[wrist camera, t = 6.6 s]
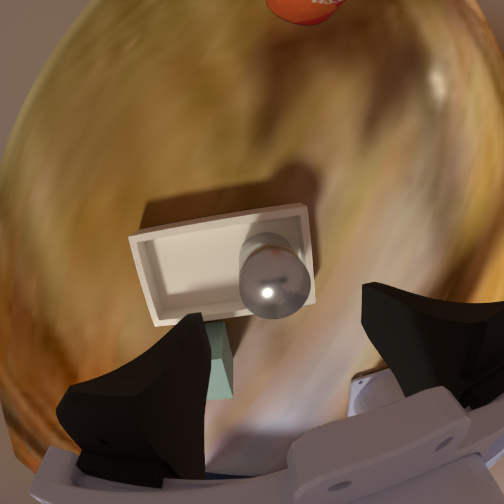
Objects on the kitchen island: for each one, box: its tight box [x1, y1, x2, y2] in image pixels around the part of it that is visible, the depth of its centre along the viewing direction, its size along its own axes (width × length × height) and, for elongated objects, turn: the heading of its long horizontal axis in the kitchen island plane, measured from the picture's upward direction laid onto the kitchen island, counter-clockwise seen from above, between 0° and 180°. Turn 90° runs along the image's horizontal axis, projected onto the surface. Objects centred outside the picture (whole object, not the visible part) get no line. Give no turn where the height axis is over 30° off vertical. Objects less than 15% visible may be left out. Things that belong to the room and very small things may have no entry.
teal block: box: [204, 321, 233, 400], centre depth 20 cm, size 4×4×5 cm
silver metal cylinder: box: [239, 232, 311, 319], centre depth 17 cm, size 4×4×5 cm
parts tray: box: [128, 202, 315, 327], centre depth 19 cm, size 12×7×2 cm, turn 98°
